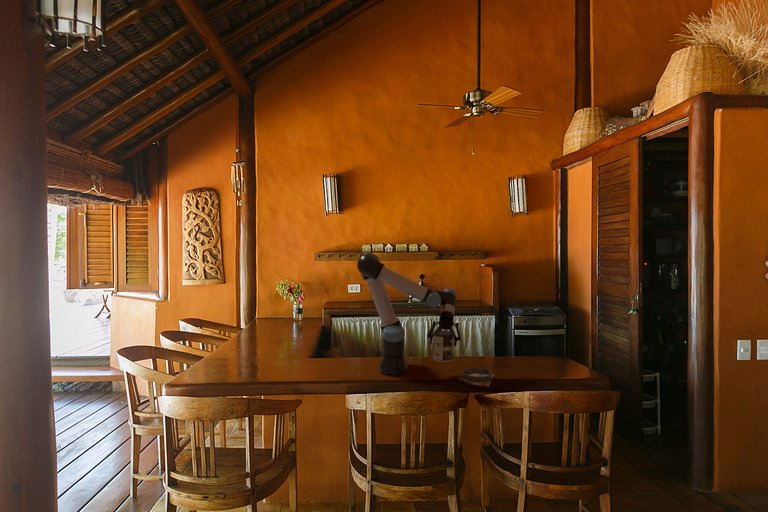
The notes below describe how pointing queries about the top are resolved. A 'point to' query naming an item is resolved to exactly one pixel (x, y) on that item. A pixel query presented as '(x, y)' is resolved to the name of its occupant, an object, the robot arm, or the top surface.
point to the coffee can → (443, 346)
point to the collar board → (477, 376)
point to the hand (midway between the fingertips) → (442, 350)
